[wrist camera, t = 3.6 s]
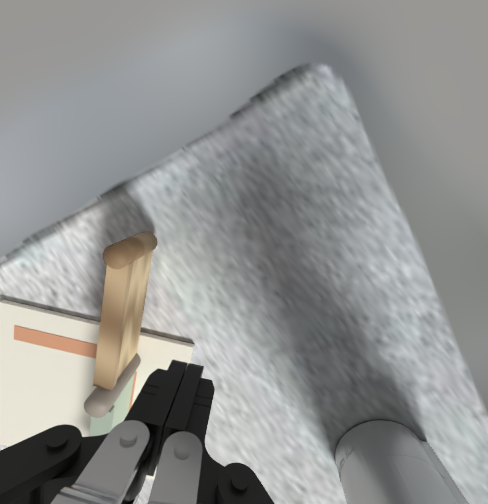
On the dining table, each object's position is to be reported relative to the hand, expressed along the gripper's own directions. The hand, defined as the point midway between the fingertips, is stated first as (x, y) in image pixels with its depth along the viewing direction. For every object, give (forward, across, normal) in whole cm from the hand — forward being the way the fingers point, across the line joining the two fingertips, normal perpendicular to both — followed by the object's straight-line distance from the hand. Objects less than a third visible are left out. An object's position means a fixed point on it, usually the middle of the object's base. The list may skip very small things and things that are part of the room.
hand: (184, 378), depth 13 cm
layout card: (+14, +11, +17) cm, 25 cm away
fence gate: (+13, +7, +3) cm, 15 cm away
